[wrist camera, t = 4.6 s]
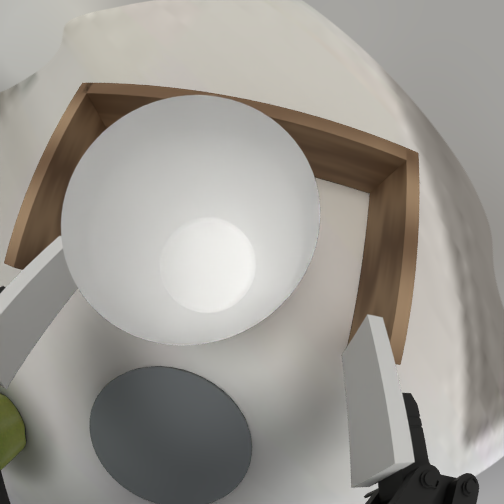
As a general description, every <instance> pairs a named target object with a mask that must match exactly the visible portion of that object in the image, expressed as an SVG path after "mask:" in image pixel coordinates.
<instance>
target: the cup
mask: <svg viewBox="0 0 504 504" xmlns="http://www.w3.org/2000/svg"><path fill="white" fill-rule="evenodd" d="M319 227H320V201H319V193H318V188H317V184H316V181H315V177H314V174H313V171H312V169H311V167H310V165H309V162H308V160H307V159H306V157H305V155H304V153H303V151H302V150H301V149H300V147H299V146H298V144H297V143H296V142H295V140H294V139H293V138H292V137H291V136H290V135H289V133H288V132H286V131H285V130H284V129H283V128H282V127H281V126H280V125H279V124H278V123H276V122H275V121H274V120H273V119H271V118H270V117H268V116H267V115H265V114H264V113H262V112H260V111H258V110H256V109H255V108H253V107H250V106H248V105H246V104H243V103H241V102H237V101H234V100H231V99H227V98H222V97H216V96H208V95H185V96H177V97H171V98H167V99H162V100H159V101H156V102H152V103H150V104H147V105H145V106H142V107H140V108H138V109H136V110H134V111H132V112H130V113H128V114H127V115H125V116H123V117H122V118H120V119H119V120H117V121H116V122H115V123H113V124H112V125H111V126H110V127H108V128H107V129H106V130H105V131H104V132H103V133H102V134H101V135H100V136H99V137H98V138H97V139H96V140H95V141H94V142H93V143H92V144H91V146H90V147H89V148H88V149H87V151H86V152H85V153H84V155H83V156H82V158H81V159H80V161H79V163H78V165H77V166H76V168H75V170H74V172H73V174H72V177H71V179H70V182H69V184H68V187H67V190H66V194H65V198H64V202H63V208H62V216H61V238H62V246H63V251H64V255H65V259H66V263H67V265H68V268H69V271H70V273H71V276H72V278H73V280H74V282H75V284H76V285H77V287H78V289H79V290H80V292H81V293H82V295H83V296H84V297H85V299H86V300H87V301H88V303H89V304H90V305H91V306H92V307H93V308H94V309H95V310H96V311H97V312H98V313H99V314H100V315H101V316H103V317H104V318H105V319H106V320H107V321H109V322H110V323H112V324H113V325H115V326H116V327H118V328H119V329H121V330H123V331H125V332H127V333H129V334H131V335H133V336H136V337H139V338H141V339H144V340H148V341H152V342H156V343H161V344H168V345H199V344H206V343H211V342H216V341H220V340H223V339H226V338H229V337H232V336H234V335H237V334H239V333H241V332H244V331H246V330H247V329H249V328H251V327H253V326H255V325H256V324H258V323H259V322H261V321H262V320H264V319H265V318H266V317H268V316H269V315H270V314H272V313H273V312H274V311H275V310H276V309H277V308H278V307H280V306H281V305H282V303H283V302H284V301H285V300H286V299H287V298H288V297H289V296H290V295H291V293H292V292H293V291H294V289H295V288H296V287H297V285H298V284H299V282H300V281H301V279H302V277H303V276H304V274H305V272H306V270H307V268H308V266H309V264H310V262H311V259H312V256H313V253H314V251H315V248H316V244H317V239H318V235H319Z"/></svg>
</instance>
